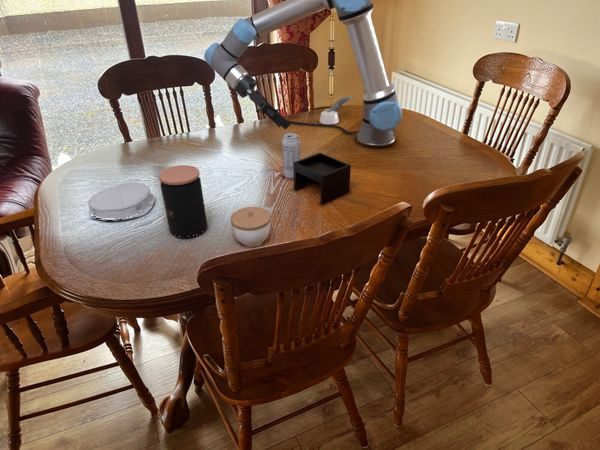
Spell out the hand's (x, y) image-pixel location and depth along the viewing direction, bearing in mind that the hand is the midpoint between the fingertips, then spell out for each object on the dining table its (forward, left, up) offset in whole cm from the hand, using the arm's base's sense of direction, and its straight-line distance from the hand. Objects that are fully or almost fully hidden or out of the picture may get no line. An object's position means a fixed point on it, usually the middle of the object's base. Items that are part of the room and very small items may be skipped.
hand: (285, 125), depth 157 cm
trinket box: (+36, -32, -16) cm, 51 cm away
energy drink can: (+8, -2, -16) cm, 18 cm away
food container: (-3, -58, -16) cm, 60 cm away
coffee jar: (+21, -45, -16) cm, 52 cm away
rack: (+23, 0, -16) cm, 28 cm away
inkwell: (-32, +45, -16) cm, 57 cm away
